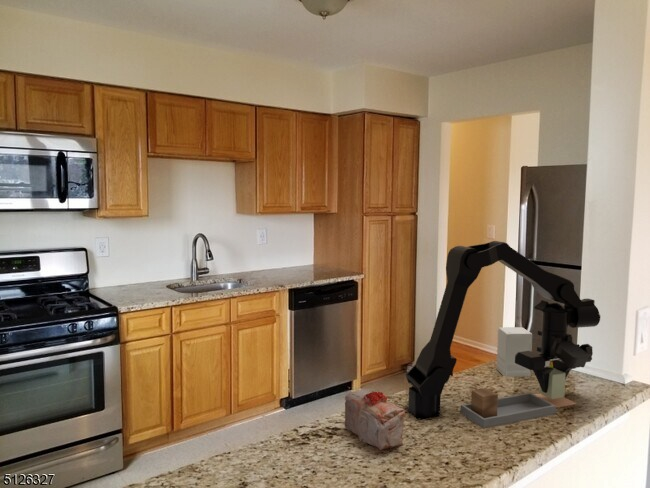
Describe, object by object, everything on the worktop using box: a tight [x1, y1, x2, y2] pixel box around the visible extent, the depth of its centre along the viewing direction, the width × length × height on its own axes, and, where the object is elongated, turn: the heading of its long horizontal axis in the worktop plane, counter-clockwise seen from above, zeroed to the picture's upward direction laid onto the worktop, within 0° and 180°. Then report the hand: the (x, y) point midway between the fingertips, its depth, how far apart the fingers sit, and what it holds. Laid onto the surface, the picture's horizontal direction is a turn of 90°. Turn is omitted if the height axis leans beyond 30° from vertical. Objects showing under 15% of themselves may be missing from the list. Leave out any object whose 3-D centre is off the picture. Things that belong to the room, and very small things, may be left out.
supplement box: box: [496, 326, 533, 377], centre depth 142 cm, size 7×7×13 cm
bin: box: [460, 392, 557, 429], centre depth 115 cm, size 20×8×2 cm, turn 111°
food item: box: [344, 389, 406, 451], centre depth 105 cm, size 14×8×10 cm, turn 36°
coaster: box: [533, 392, 578, 409], centre depth 123 cm, size 8×8×1 cm
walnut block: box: [470, 387, 499, 418], centre depth 113 cm, size 4×4×6 cm
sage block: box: [538, 368, 566, 399], centre depth 123 cm, size 4×4×6 cm
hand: (551, 391), depth 123 cm, fingers closed on sage block, 4 cm apart
